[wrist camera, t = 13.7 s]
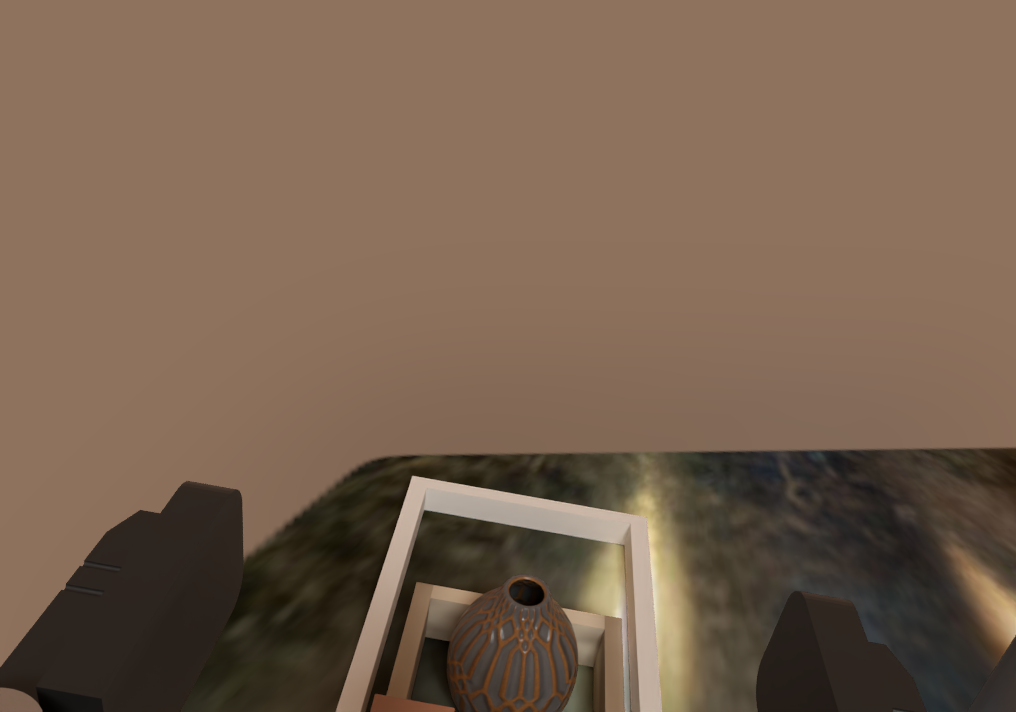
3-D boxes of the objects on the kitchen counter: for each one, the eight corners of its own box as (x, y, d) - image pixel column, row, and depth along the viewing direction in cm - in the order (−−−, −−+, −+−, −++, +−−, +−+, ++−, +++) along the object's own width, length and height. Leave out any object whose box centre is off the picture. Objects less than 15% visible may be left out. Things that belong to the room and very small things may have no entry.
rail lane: (640, 538, 59) (646, 517, 58) (660, 845, 40) (670, 821, 39) (410, 497, 59) (412, 475, 58) (319, 783, 40) (320, 757, 39)
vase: (443, 649, 48) (460, 536, 44) (559, 658, 48) (587, 548, 44) (437, 758, 42) (455, 640, 38) (569, 767, 43) (603, 652, 38)
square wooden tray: (610, 656, 49) (657, 500, 43) (615, 998, 34) (689, 829, 28) (411, 620, 49) (431, 460, 43) (327, 945, 34) (339, 765, 28)
